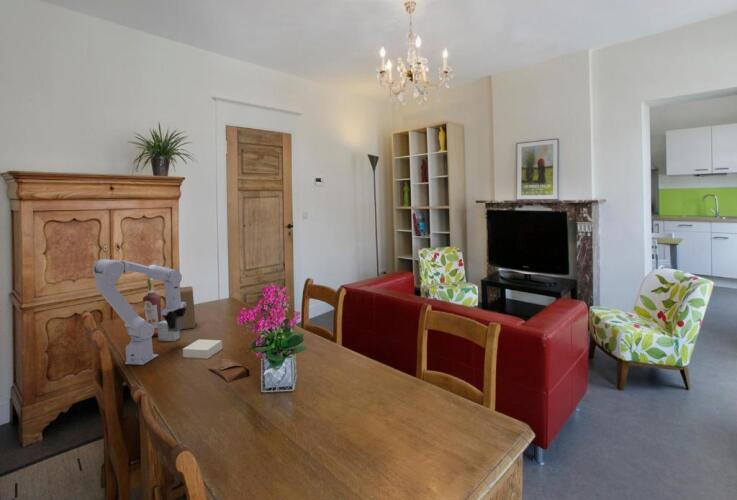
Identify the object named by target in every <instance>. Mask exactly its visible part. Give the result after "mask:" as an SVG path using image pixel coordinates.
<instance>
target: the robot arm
mask: <svg viewBox="0 0 737 500" xmlns="http://www.w3.org/2000/svg"><path fill="white" fill-rule="evenodd" d="M128 272H135V273H140V274H143V275H145V276H146V277H147V278H152V279H153V280H158V281H162V282H163V283H164V289H165V290H164V292H165V303H166V304H165V305H166V307H165V308H164V309H163V308H162V309H161V317H163V318H164V319H165V320H164V321H167V323H168V326H169V329H174V328H175V318H176V316H184V313H185V311H186V308H183V307H185V306H186V302H181V297H180V287H181V280H182V278H183V275H182V274H181V272H180V271H179V270H178V269H174V268H170V266H161V265H160V264H159V263H154V264H150V265H148V266H147V265H144V264H140V263H136V262H132V261H129V260H122V259H121V260H120V259H108V258H101V259H98V260H97V261H96V262H95V264H94V265H93V269H92V273H93V275H94V280H95V287H96V290H97V291H98V293H99V294H100V295H101V296H102V298H104V300H105V301H106V302H107V303H108V304H109V305H110V307H111V308H112V309H113V310H114V311H115V312H116V314H117V315H118V316H119V317H120V319H122V321H123V322H124V327H126V333H127V334H128V335H129V336H130V342H129V343H128V344H127V345H126V347H125V358H126V359H125V360H126V362H124V364H125V365H140V366H141V365H142V366H143V365H145V364H147V363H148V362H150V361H152V360H153V359H154V358H157V357H158V356H159V354H158V353H157V354H156V353H154V350H153V349H154V347H153V337H152V335H153V334H154V326H153V325H152V324H149V323H147V322H146V319H144V318H143V317H141V316H140V315H139V314H138V313H137V312H136V311H135V309H134V308H133V306H131V304H130V303H129V302H128V300H127V299H126V298H125V297H124V296H123V294H122V293H121V292H120V291H119V289H118V288H117V287H116V283H117V282H118V280H120V278H121V276H122V275H123V273H124V274H126V273H128ZM172 312H173V313H172Z"/></svg>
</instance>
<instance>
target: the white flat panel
mask: <svg viewBox="0 0 737 500" xmlns="http://www.w3.org/2000/svg"><path fill="white" fill-rule="evenodd" d="M222 349H223V340H219V339H218V340H217V339H196V340H195V341H194V342H192V343H190V344H188V345H186V347H184V348H182V357H183V358H188V359H205V360H206V359H207V360H208V359H209V358H211V357H213V356H214V355H216V354H217V353H218V352H219V351H221V350H222Z"/></svg>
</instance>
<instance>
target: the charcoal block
mask: <svg viewBox="0 0 737 500" xmlns="http://www.w3.org/2000/svg"><path fill="white" fill-rule="evenodd" d="M167 326H168V323H167ZM183 328H184V324H183V316H176V318H175V328H174V329H169V326H168V331H174V332H178V331H179V332H180V331H181V329H183ZM183 330H184V329H183Z"/></svg>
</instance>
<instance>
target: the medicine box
mask: <svg viewBox="0 0 737 500" xmlns="http://www.w3.org/2000/svg"><path fill="white" fill-rule="evenodd" d="M157 328H158V336H157V337H158V341H159V342H176V341H177V340H179V339H180V337H181V335H180V331H178V332H174V331H168V326H167V321H166V320H161V322H159V323H157Z"/></svg>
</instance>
